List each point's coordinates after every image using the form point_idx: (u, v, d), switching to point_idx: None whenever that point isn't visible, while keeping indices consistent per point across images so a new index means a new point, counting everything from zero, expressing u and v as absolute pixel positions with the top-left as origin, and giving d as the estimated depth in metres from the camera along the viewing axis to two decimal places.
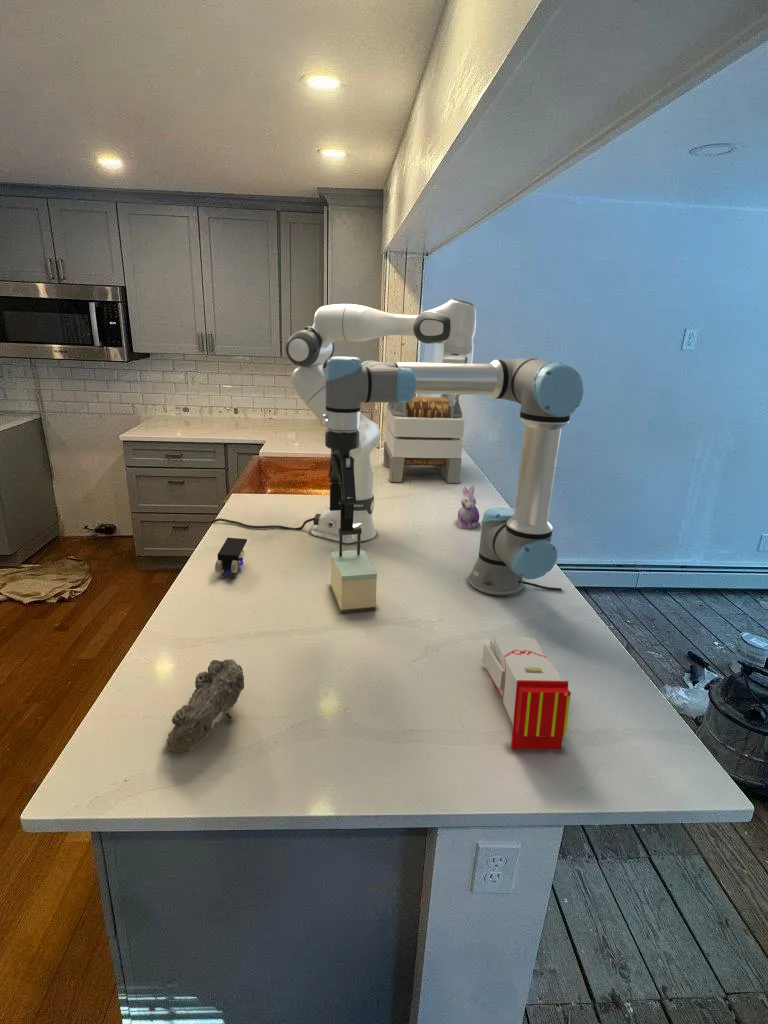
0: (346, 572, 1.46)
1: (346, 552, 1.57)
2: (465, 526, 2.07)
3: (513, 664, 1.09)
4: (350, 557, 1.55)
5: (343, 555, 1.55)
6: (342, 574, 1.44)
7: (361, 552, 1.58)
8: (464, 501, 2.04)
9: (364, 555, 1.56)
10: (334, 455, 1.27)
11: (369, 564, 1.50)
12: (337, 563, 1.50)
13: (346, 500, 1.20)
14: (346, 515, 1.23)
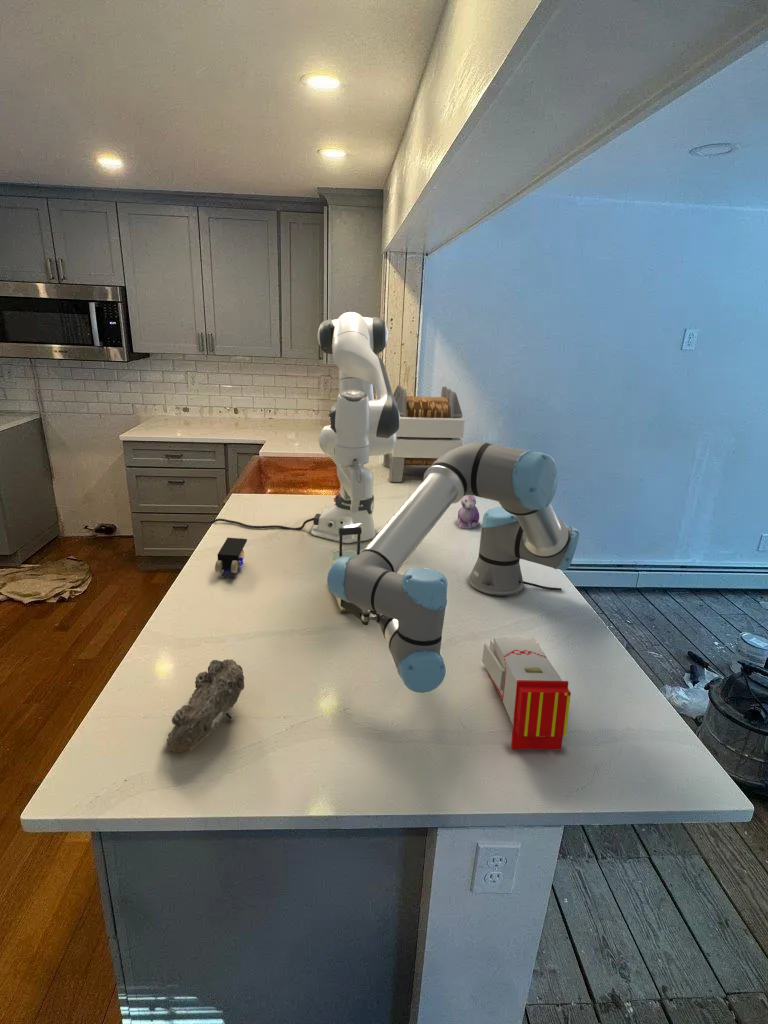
0: None
1: (346, 552, 1.57)
2: (465, 526, 2.07)
3: (513, 664, 1.09)
4: None
5: (343, 555, 1.55)
6: None
7: None
8: (464, 501, 2.04)
9: None
10: None
11: None
12: None
13: None
14: None
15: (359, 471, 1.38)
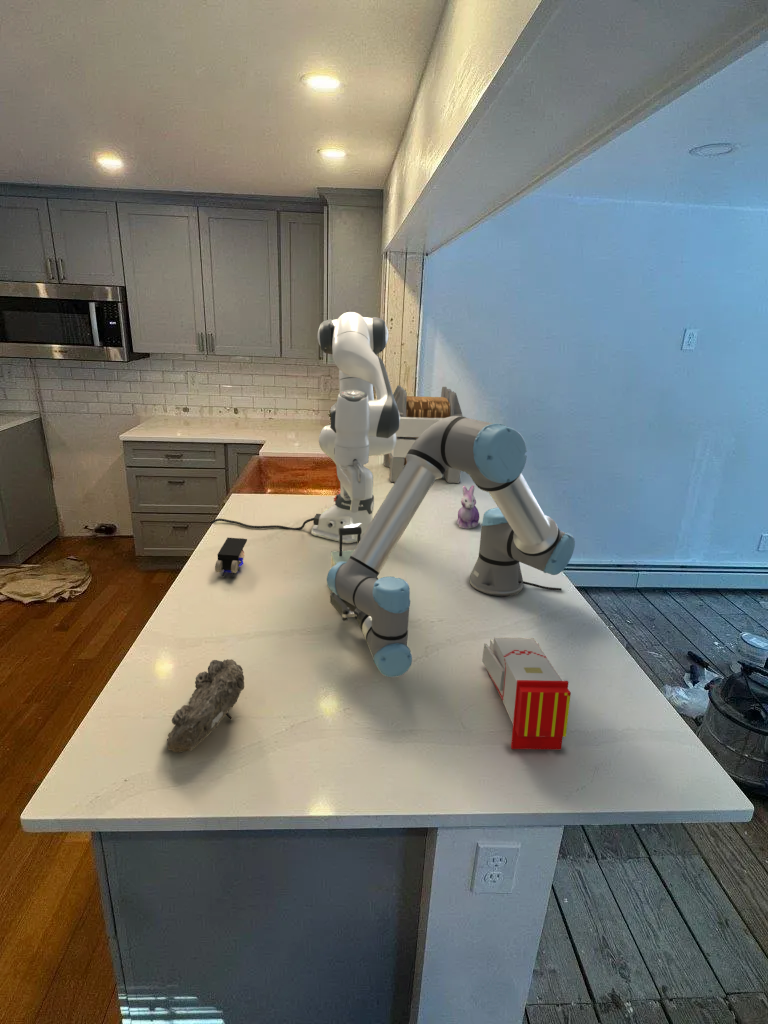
0: None
1: (346, 552, 1.57)
2: (465, 526, 2.07)
3: (513, 664, 1.09)
4: None
5: (343, 555, 1.55)
6: None
7: None
8: (464, 501, 2.04)
9: None
10: None
11: None
12: None
13: None
14: None
15: (359, 471, 1.38)
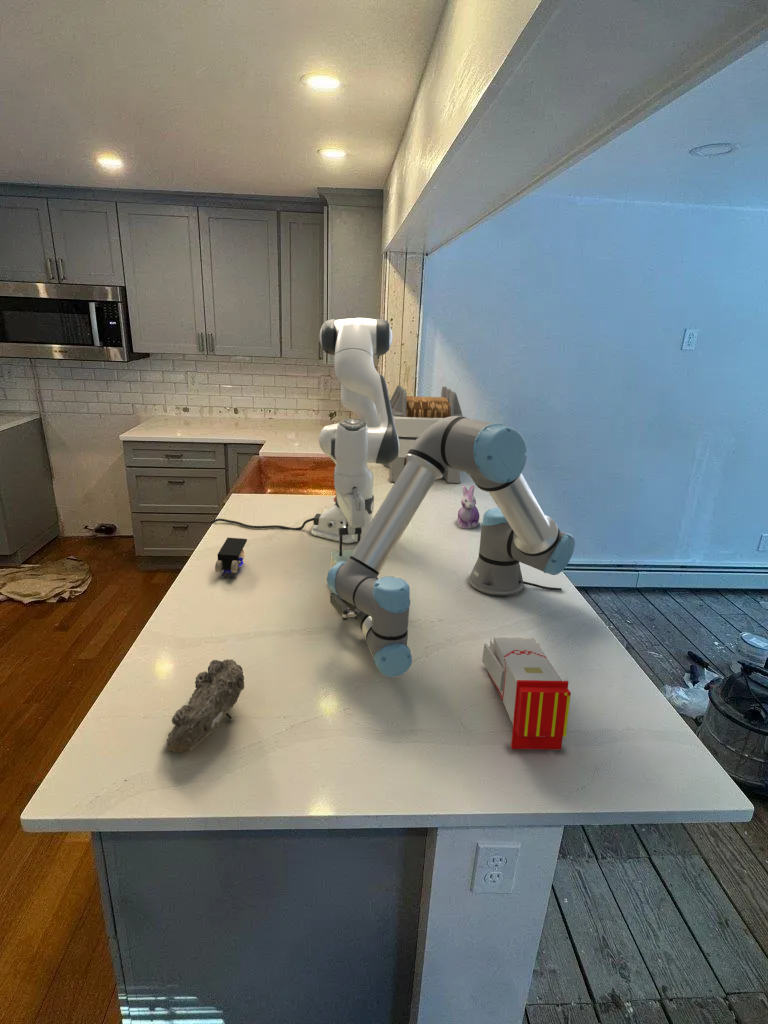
0: None
1: (346, 552, 1.57)
2: (465, 526, 2.07)
3: (513, 664, 1.09)
4: None
5: (343, 555, 1.55)
6: None
7: None
8: (464, 501, 2.04)
9: None
10: None
11: None
12: None
13: None
14: None
15: (358, 499, 1.40)
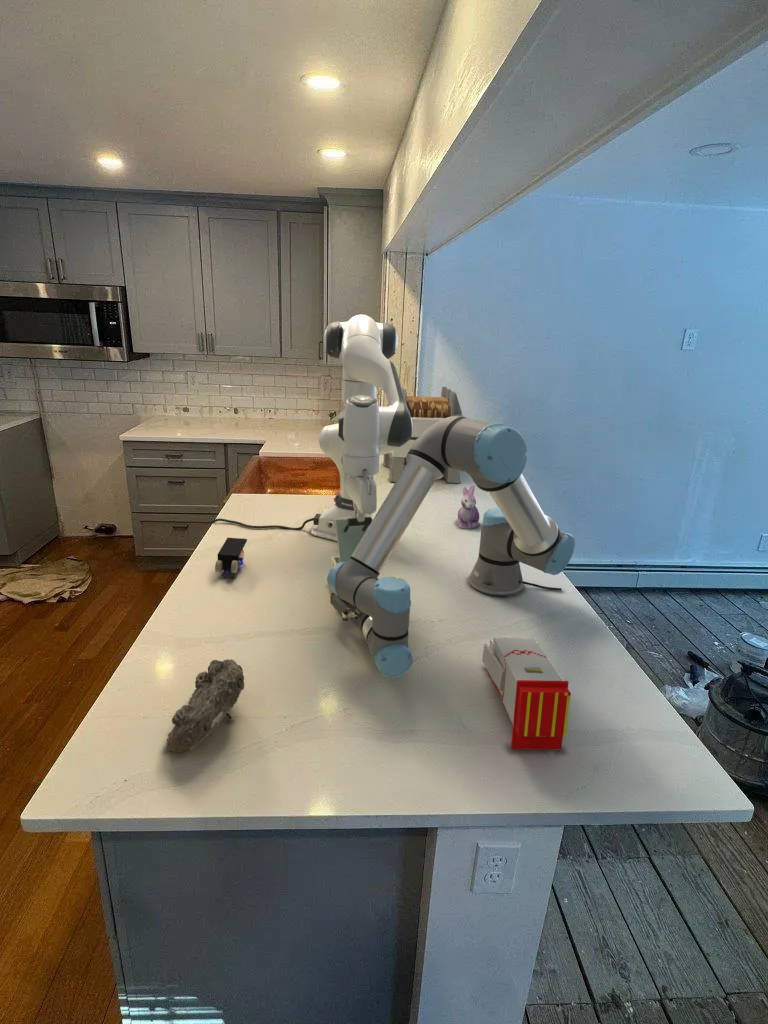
0: None
1: None
2: (465, 526, 2.07)
3: (513, 664, 1.09)
4: (355, 535, 1.47)
5: (348, 530, 1.48)
6: None
7: (367, 525, 1.49)
8: (464, 501, 2.04)
9: None
10: None
11: None
12: (340, 548, 1.45)
13: None
14: None
15: (369, 482, 1.28)
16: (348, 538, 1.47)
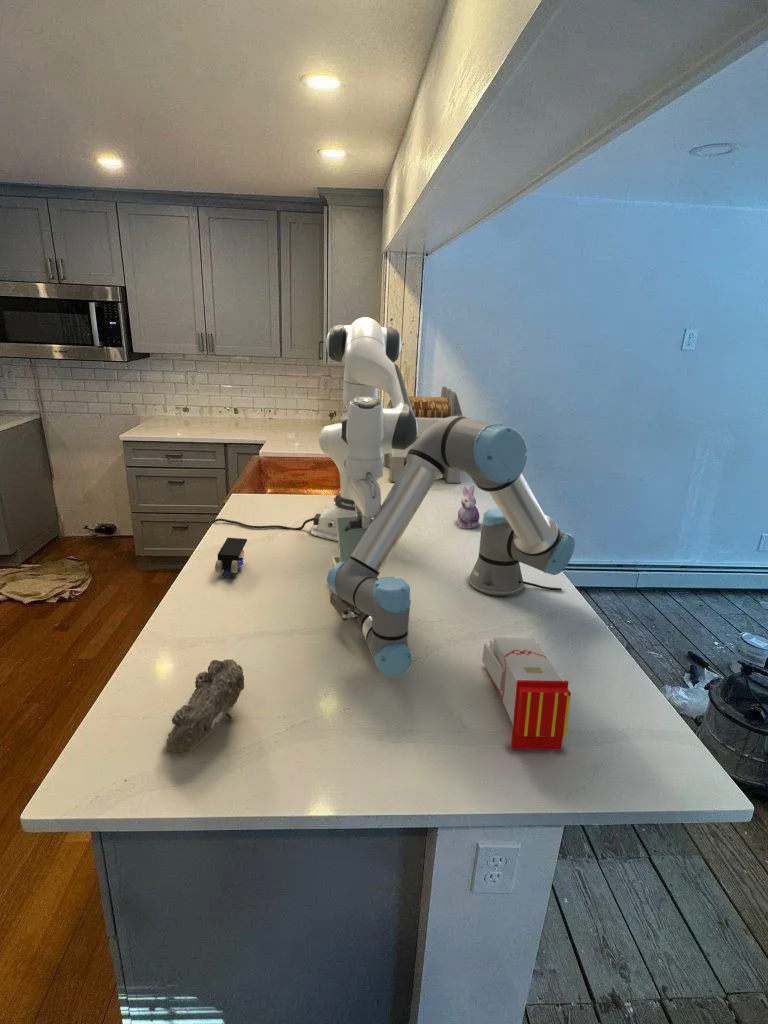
0: None
1: None
2: (465, 526, 2.07)
3: (513, 664, 1.09)
4: (356, 534, 1.46)
5: (349, 529, 1.46)
6: None
7: None
8: (464, 501, 2.04)
9: None
10: None
11: None
12: (341, 548, 1.44)
13: None
14: None
15: (373, 485, 1.24)
16: (349, 537, 1.45)
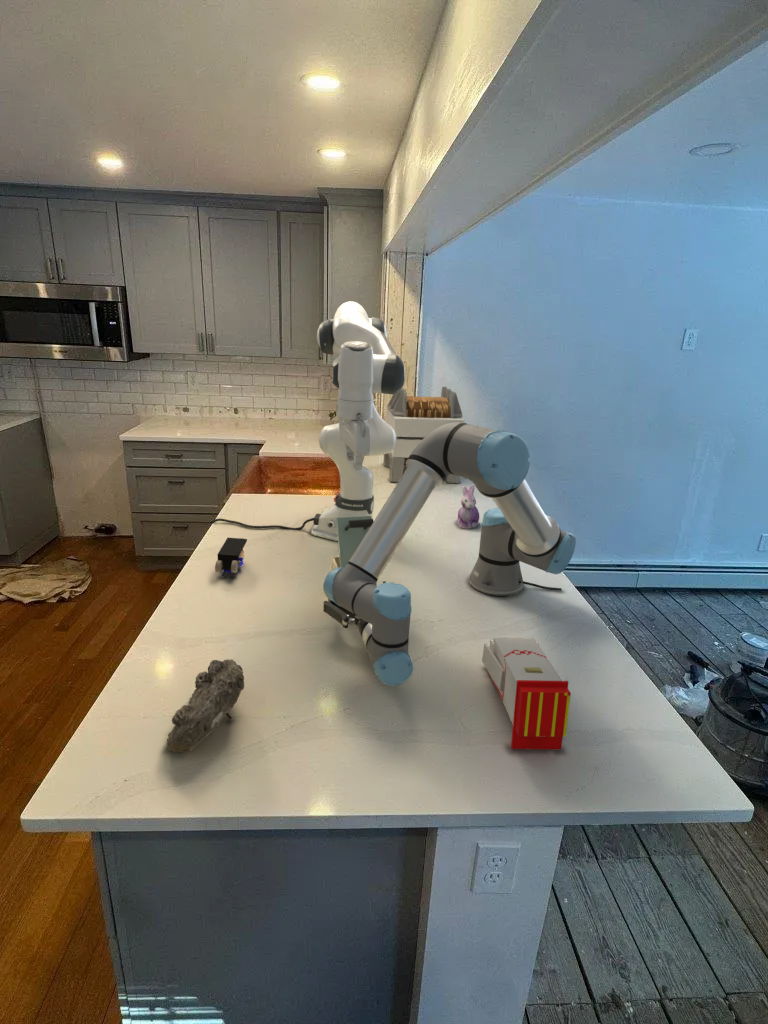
0: None
1: None
2: (465, 526, 2.07)
3: (513, 664, 1.09)
4: (355, 534, 1.46)
5: (349, 528, 1.46)
6: None
7: None
8: (464, 501, 2.04)
9: None
10: None
11: None
12: (340, 547, 1.45)
13: None
14: None
15: (363, 424, 1.31)
16: (349, 537, 1.46)
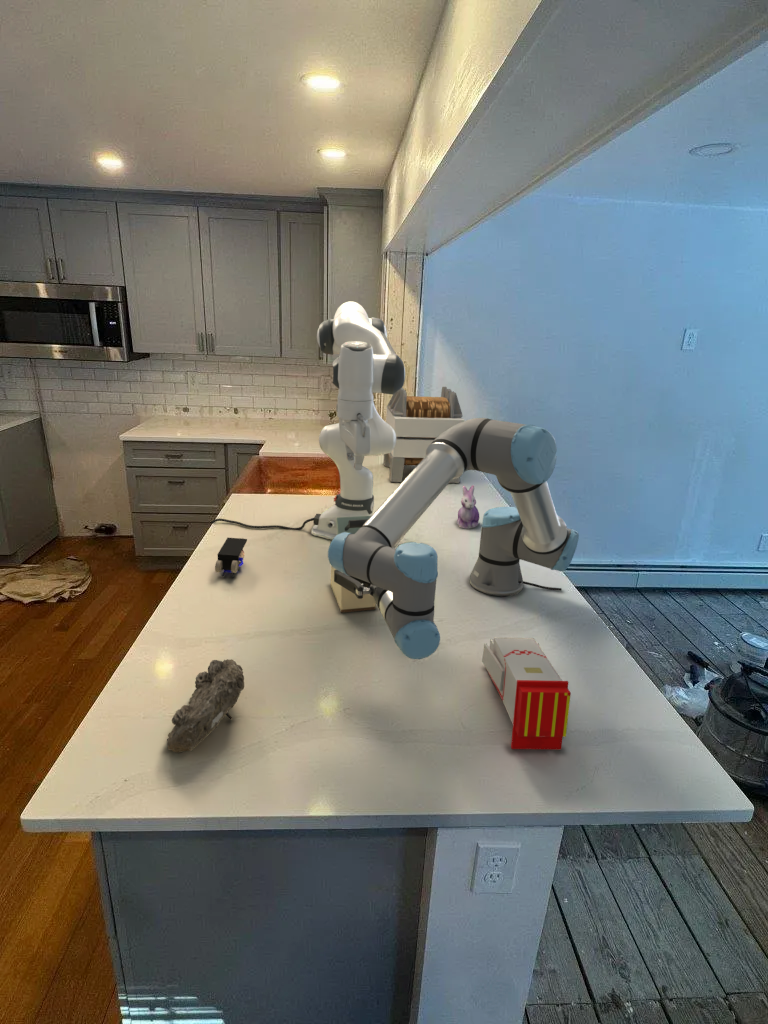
0: None
1: None
2: (465, 526, 2.07)
3: (513, 664, 1.09)
4: None
5: (349, 528, 1.46)
6: None
7: None
8: (464, 501, 2.04)
9: None
10: None
11: None
12: None
13: None
14: None
15: (363, 424, 1.31)
16: None
